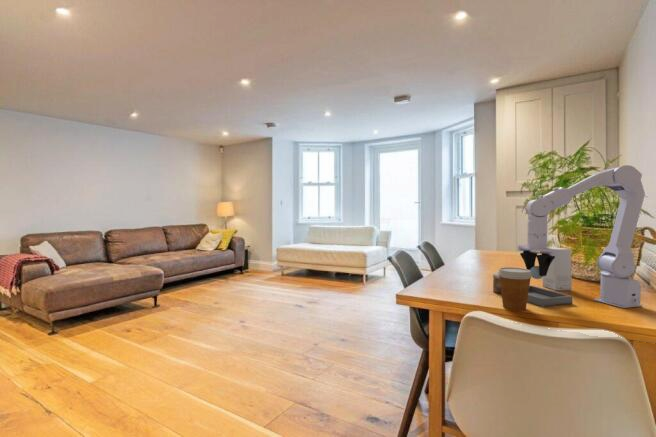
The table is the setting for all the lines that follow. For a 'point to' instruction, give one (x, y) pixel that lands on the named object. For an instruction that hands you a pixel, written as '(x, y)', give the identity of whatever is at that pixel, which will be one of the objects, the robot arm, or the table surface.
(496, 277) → the shaker
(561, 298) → the tray
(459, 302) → the table surface
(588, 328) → the table surface
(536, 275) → the ball
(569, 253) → the skincare box
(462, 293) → the table surface
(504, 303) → the disposable coffee cup
